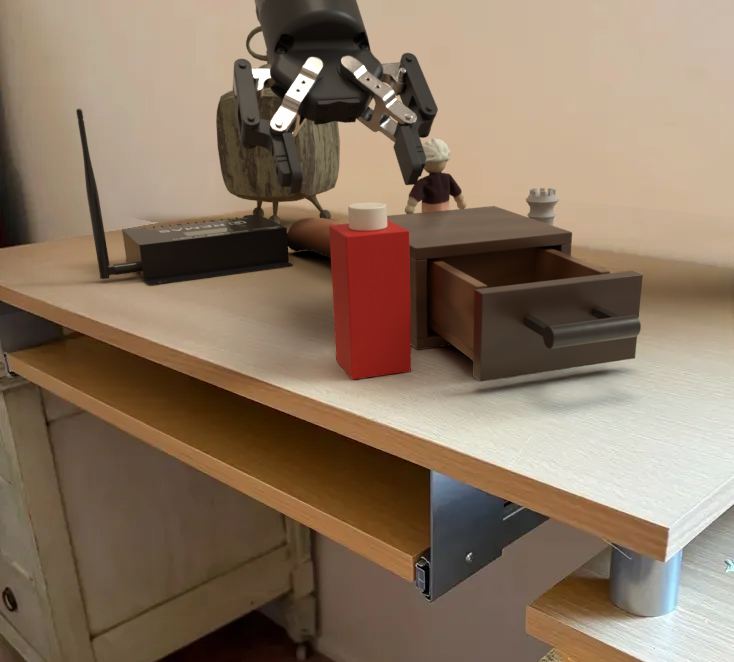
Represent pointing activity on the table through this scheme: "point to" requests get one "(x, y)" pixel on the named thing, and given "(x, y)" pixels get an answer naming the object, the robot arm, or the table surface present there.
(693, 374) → the table surface
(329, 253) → the sunglasses case
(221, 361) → the table surface
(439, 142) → the grandmother figurine
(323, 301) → the table surface
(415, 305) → the cabinet
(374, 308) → the ketchup bottle
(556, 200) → the rook chess piece
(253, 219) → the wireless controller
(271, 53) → the robot arm
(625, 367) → the table surface
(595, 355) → the drawer
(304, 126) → the tabletop clock
